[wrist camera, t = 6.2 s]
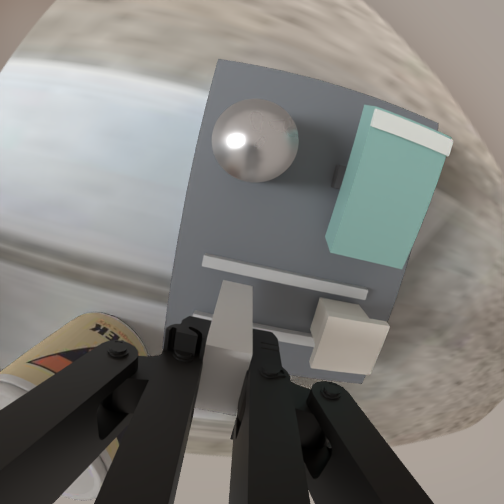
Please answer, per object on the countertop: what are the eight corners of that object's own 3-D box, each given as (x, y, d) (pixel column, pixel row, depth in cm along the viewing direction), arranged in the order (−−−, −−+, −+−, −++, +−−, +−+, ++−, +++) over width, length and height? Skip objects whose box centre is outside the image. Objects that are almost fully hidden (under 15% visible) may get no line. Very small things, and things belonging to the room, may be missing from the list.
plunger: (212, 173, 16) (203, 172, 13) (228, 106, 15) (222, 91, 12) (282, 188, 16) (288, 191, 13) (297, 121, 15) (306, 109, 12)
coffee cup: (183, 375, 24) (143, 496, 12) (108, 411, 25) (56, 506, 13) (108, 279, 22) (7, 360, 10) (42, 331, 23) (-42, 406, 11)
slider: (301, 334, 18) (310, 368, 14) (314, 289, 17) (328, 316, 14) (352, 342, 18) (370, 375, 15) (367, 299, 18) (390, 326, 14)
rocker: (324, 236, 16) (330, 255, 15) (364, 104, 13) (377, 106, 11) (391, 252, 17) (403, 271, 15) (434, 131, 13) (454, 138, 12)
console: (176, 321, 23) (159, 355, 18) (224, 79, 19) (216, 53, 14) (347, 354, 23) (365, 390, 18) (409, 130, 19) (445, 121, 15)
